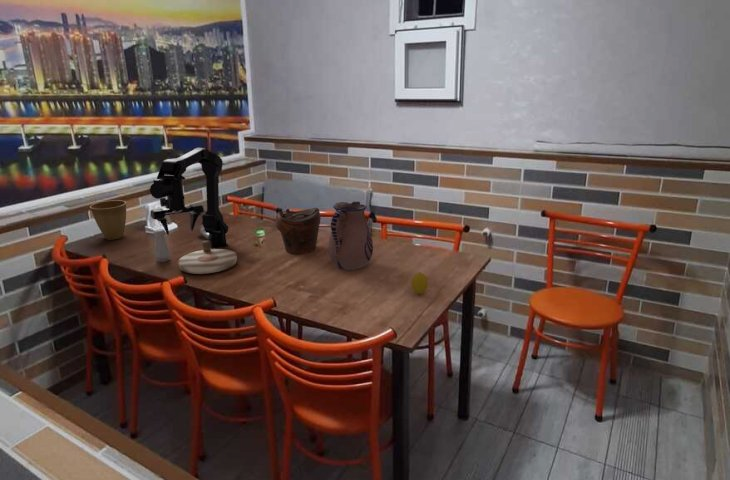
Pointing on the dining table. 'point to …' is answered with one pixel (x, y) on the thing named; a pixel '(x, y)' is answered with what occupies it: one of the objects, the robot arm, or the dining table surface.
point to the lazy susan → (207, 260)
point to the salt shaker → (161, 246)
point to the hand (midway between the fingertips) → (180, 232)
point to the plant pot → (110, 218)
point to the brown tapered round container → (299, 229)
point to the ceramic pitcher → (350, 236)
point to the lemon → (419, 283)
